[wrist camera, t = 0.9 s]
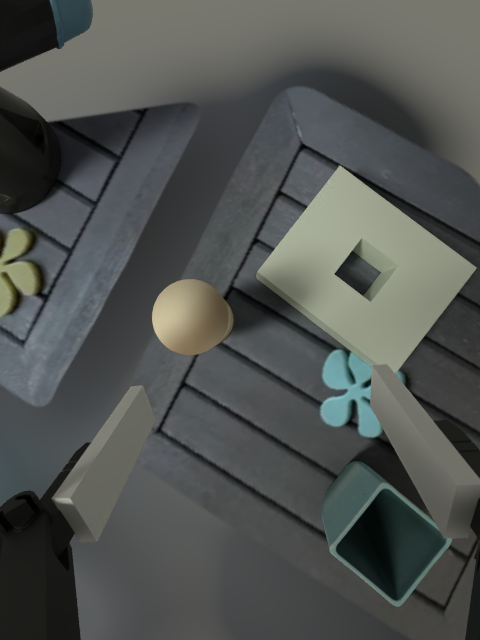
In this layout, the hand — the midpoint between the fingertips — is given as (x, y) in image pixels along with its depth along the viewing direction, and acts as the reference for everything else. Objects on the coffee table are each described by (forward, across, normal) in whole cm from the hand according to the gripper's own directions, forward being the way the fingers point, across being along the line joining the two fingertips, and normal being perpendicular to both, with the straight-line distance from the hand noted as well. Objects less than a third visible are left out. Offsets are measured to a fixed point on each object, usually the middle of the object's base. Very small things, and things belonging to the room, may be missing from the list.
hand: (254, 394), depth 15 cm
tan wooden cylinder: (+20, -6, -3) cm, 21 cm away
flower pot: (+12, +10, -26) cm, 30 cm away
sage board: (+23, +13, 0) cm, 26 cm away
